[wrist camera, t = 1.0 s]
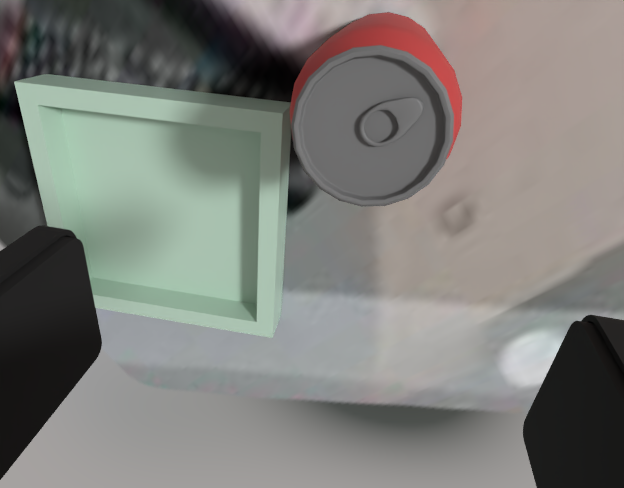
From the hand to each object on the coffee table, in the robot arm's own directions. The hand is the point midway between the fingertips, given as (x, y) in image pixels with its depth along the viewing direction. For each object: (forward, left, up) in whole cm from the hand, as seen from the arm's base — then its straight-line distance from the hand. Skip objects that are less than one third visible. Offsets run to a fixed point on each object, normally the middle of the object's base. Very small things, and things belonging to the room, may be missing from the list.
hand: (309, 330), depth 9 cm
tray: (+8, -12, -21) cm, 26 cm away
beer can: (-2, +1, -21) cm, 21 cm away
